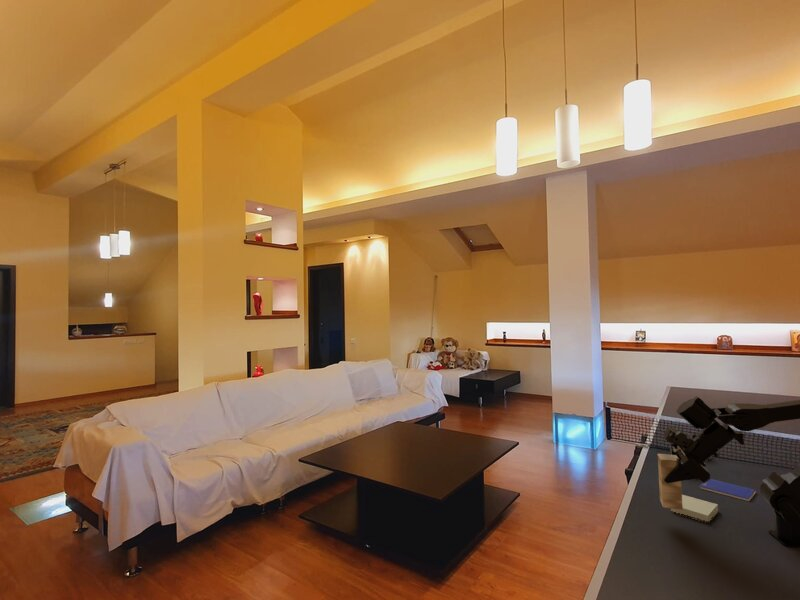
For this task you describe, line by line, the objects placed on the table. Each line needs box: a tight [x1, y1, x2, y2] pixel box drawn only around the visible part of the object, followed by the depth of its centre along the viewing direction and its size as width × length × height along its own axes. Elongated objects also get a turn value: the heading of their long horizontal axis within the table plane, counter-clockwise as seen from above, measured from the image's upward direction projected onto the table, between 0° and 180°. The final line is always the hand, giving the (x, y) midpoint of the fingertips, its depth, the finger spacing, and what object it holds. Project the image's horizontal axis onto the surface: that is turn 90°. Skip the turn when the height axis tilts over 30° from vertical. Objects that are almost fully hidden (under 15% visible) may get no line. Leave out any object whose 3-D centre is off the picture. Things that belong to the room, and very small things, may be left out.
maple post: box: [657, 453, 683, 510], centre depth 116 cm, size 4×4×13 cm
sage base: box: [670, 494, 719, 522], centre depth 122 cm, size 9×9×2 cm
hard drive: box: [699, 478, 757, 502], centre depth 133 cm, size 2×8×12 cm
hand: (663, 478), depth 116 cm, fingers closed on maple post, 4 cm apart
